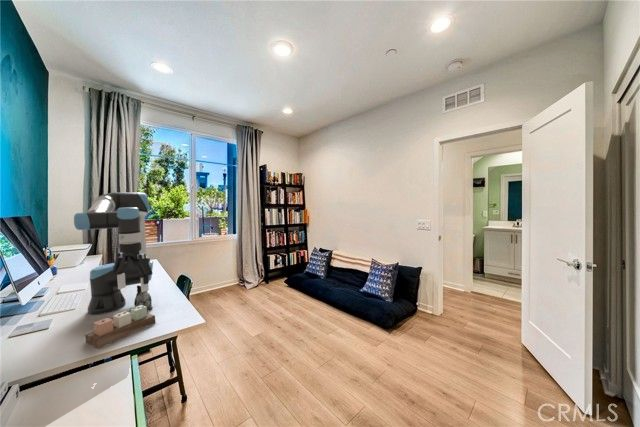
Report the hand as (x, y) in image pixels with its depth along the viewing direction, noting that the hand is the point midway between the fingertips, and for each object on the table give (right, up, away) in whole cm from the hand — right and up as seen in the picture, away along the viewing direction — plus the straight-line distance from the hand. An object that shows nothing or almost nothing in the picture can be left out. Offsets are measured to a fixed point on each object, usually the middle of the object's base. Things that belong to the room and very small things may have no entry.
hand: (133, 289), depth 104 cm
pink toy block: (-6, -16, -8) cm, 18 cm away
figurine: (-10, -17, +17) cm, 26 cm away
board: (-3, -18, -2) cm, 18 cm away
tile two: (-3, -15, -2) cm, 15 cm away
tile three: (-1, -15, +4) cm, 15 cm away
